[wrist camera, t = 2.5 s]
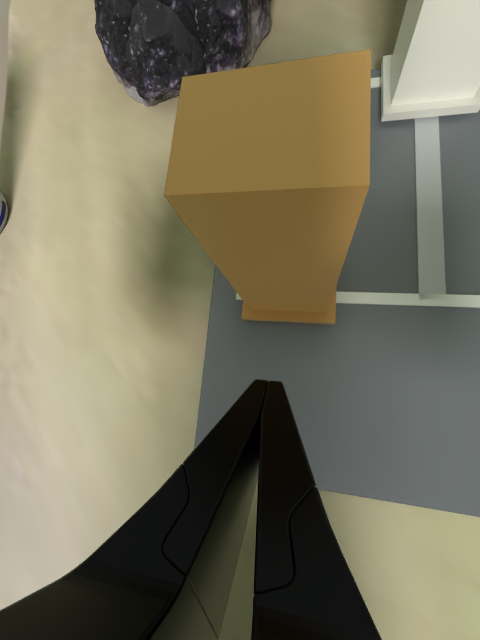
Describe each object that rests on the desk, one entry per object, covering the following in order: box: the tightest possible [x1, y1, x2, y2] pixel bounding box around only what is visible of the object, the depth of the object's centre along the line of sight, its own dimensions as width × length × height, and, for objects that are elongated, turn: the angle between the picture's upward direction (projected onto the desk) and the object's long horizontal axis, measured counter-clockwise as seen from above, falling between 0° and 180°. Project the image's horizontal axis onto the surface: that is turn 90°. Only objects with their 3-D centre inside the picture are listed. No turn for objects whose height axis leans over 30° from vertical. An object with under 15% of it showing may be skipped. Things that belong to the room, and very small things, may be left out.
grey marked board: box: [194, 69, 480, 517], centre depth 16 cm, size 24×16×1 cm, turn 175°
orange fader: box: [164, 49, 371, 324], centre depth 11 cm, size 4×5×10 cm
